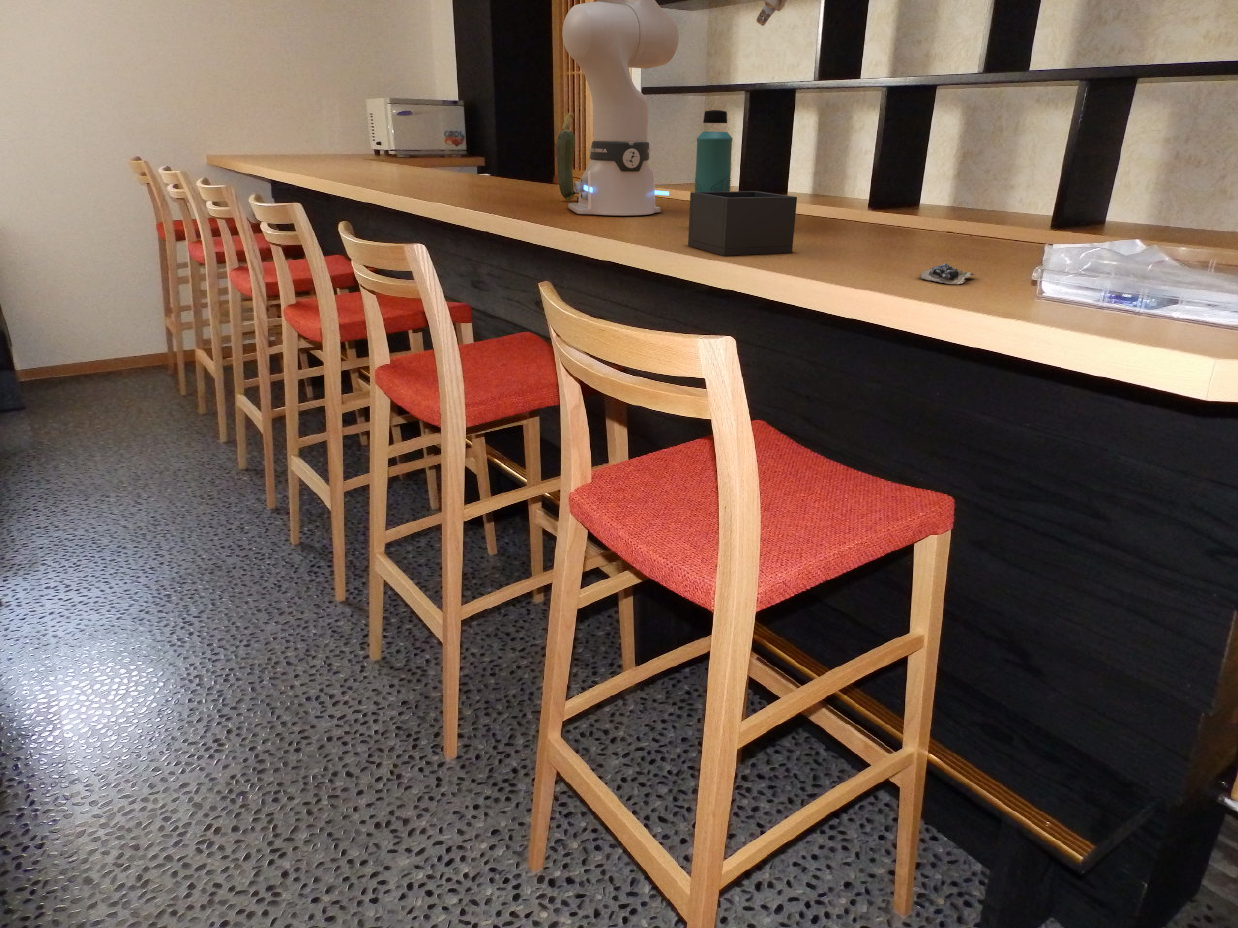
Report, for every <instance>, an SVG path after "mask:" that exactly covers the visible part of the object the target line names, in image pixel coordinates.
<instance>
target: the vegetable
mask: <svg viewBox="0 0 1238 928" xmlns="http://www.w3.org/2000/svg"><path fill="white" fill-rule="evenodd" d="M574 118H575V114H574V113H572V111H570V112H568V113H567V114H566V115H565V117H564V120H563V123H562V127H561V128H562V130H561V131H560V132H559V133H558V136H557V138H556V139H557V141H556V158H557V159H556V163H557V165H556V166H557V180H558V181H557V182H558V186H559V192H560V194H561V196H562V197H563V198H564V200H565V201H566V202H571V200H573V199H574V198H573V197H574V195H573V193H574V178H573V161H574V157H575V149H576V137H575V134H574V132H573V131H572V130H571V126H572V120H574Z"/></svg>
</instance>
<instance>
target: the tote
mask: <svg viewBox="0 0 1238 928" xmlns="http://www.w3.org/2000/svg"><path fill="white" fill-rule="evenodd" d="M797 202H798V197H797V196H794V195H786V194H779V193H772V192H764V191H759V190H742V191H741V190H739V191H736V190H735V191H730V192H695V191H690V193H689V214H688V236H687V237H688V238H687V239H688V240H687V246H688V247H691V248H694V249H698V250H702V251H706V252H709V253H712V254H716V255H720V256H722V257H732V256H733V257H734V256H753V255H775V254H777V255H778V254H792V253H793V250H794V249H793V248H794V247H793V246H794V237H795V226H796V214H797Z"/></svg>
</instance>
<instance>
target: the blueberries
mask: <svg viewBox="0 0 1238 928" xmlns="http://www.w3.org/2000/svg"><path fill="white" fill-rule="evenodd" d="M920 276H921V277H920V279H921V280H922V279H923V280H926V281H932V282H938V283H941V284H943V283H944V284H945V285H960V284H963V283H964V282H967V280H966V279H970V277H973V276H975V274H974V273H973V272H969V271H966V272H965V271H963V270H959V268H956V267H952V265H950V264H948V263H943V264H940V265H935V266H933V267H931V268H929V269H924V270H923V271H922V272H921V273H920Z"/></svg>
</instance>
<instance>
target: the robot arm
mask: <svg viewBox="0 0 1238 928" xmlns="http://www.w3.org/2000/svg"><path fill="white" fill-rule="evenodd" d="M788 1H789V0H764V5H763V7H762V9H761V10H760V12H759V14H758V15H757V17H756V18H755V19H756V20H755V21H756V23H758V24H759V25H760V26H762V27H764V26H766V24H767V23H768V21H769V19H770V18H771V17H772V15H774V14H775V12H776V11H777V12H781V11H782V10H783V9H784V7H785V6H786V4H787V3H788ZM561 31H562V32H561V33H562V35H561V36H562V40H563V41H562V42H563V45H564V48H565V51H566V52H567V54H568V55H569V57H571V59H572V60H574V62H576V64H577V65H578V67H579V68H580V70H581V71H582V72H583V75H584V78H585V80H586V82H587V85H588V88H589V91H590V96H591V103H592V117H593V119H592V120H593V121H592V122H593V140H592V141H591V144H590V145H591V146H590V148H589V149H590V150H589V159H590V161H589V163H588V165H587V167H586V169H585V170H584V172H583V174H582V176H581V178H580V179H579V180H576V181H574V182H573V188H574V193H573V196H575V195H578V196H577V197H576V200H577V201H578V202H571V203H570V202H569V203H568V204H567V205H568V206H567V208H568V209H569V210H570V211H572V212H574V213H575V214H577V215H596V216H597V215H598V216H646V215H652V214H656V213H661V212H662V211H661V207H660V206H656V196H670V191H669V190H668V191H667V190H658V189H657V190H656V184H655V183H656V182H655V181H656V180H655V172H654V170H653V169H652V168H651V167H650V165H649V162H648V161H649V160H650V153H651V149H650V143H649V141H648V133H649V131H648V130H649V129H648V128H649V102H648V100H647V97H646V96H645V95H644V94H643V92H642V91H640V90H639V89H637V86H635V84H634V82H633V80H632V76H631V73H630V68H632V69H644V70H646V69H652V68H656V67H660V66H664V65H667V64H669V63H670V62H671V61H672V60H673V58H674V57H675V54H676V52H677V51H678V50H677V49H678V46H679V30H678V25H677V23H676V21H675V19H674V18H673V17H672V16H671V15H670V14H669V13H667V12H666V11H665V10H664V9H663V8H662V7H661V6H660V5H659V3H658V2H657V1H656V0H596V1H589V2H583V3H578V4H574V5H573V6H572V7H571V8H570V9H569V10H568V12H567V14H566V16H565V18H564V21H563V24H562V30H561Z"/></svg>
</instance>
